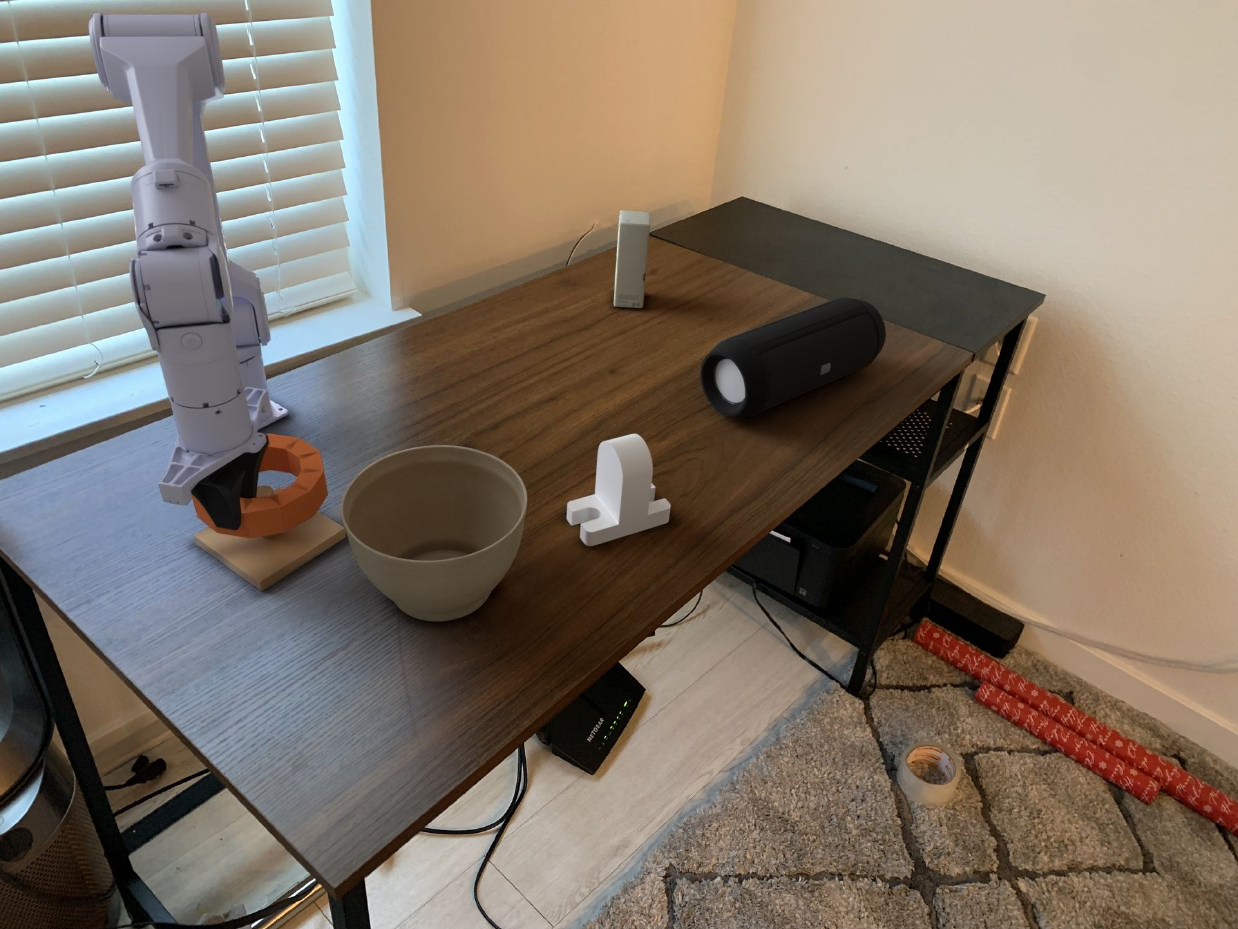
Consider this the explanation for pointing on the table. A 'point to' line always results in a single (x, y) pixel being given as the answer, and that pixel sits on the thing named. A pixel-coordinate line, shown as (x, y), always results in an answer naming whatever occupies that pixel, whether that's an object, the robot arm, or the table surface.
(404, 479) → the planter bowl
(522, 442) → the table surface
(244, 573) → the peg stand
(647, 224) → the box
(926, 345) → the table surface
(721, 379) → the portable speaker
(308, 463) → the rubber ring
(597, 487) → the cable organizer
